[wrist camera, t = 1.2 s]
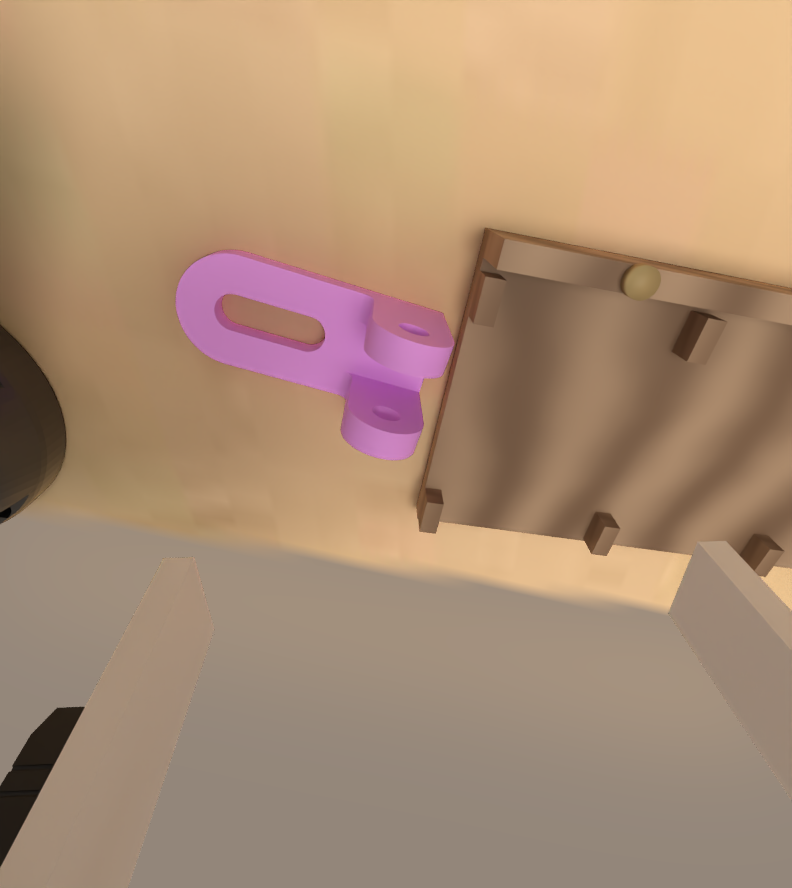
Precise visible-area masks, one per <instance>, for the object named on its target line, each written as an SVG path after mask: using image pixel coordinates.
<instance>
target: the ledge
mask: <svg viewBox="0 0 792 888" xmlns="http://www.w3.org/2000/svg"><path fill="white" fill-rule="evenodd" d="M417 519H418V520H419V532H427V533H435V534H436V531H437V527H438V524H439V521H440V522H447V523H455V524H462V525H470V526H477V527H485V528H492V529H500V530H507V531H515V532H522V533H530V534H537V535H545V536H552V537H560V538H567V539H575V540H582V541H585V543H586V544H587V546H588V548H589V550H590V552H591V554H595V555H603V556H607V554H608V552H609V550H610V548H611V547H612V545H620V546H627V547H635V548H642V549H650V550H657V551H665V552H672V553H680V554H687V555H692V554H693V552H694V549H695V547H696V545H697V542H706V541H726V542H727V543H728V544H729V545H730V546H731V547H732V548H733V549H734V550H735V551H736V552H737V553H738V554H739V555H740V557H741V558H742V559H743V560H744V561H745V562H746V563H747V564H748V565H749V566H750V567H751V568H752V569H753V570H754V571H755V573H756V574H757V575H758V576H764V577H766V575H767V574H768V573H769V571H770V570H771V569H772V567H773V566H777V567H785V568H792V288H787V287H782V286H777V285H772V284H767V283H762V282H757V281H752V280H747V279H742V278H737V277H732V276H727V275H722V274H717V273H712V272H707V271H701V270H696V269H691V268H686V267H681V266H676V265H671V264H666V263H661V262H656V261H651V260H646V259H641V258H636V257H631V256H626V255H621V254H615V253H610V252H605V251H600V250H595V249H590V248H585V247H580V246H575V245H570V244H565V243H560V242H555V241H550V240H545V239H540V238H535V237H529V236H524V235H519V234H514V233H509V232H504V231H499V230H494V229H489V228H485V232H484V236H483V240H482V244H481V248H480V252H479V256H478V260H477V265H476V269H475V273H474V277H473V281H472V285H471V289H470V293H469V297H468V301H467V305H466V309H465V313H464V317H463V321H462V325H461V329H460V333H459V337H458V341H457V345H456V349H455V353H454V357H453V362H452V366H451V370H450V374H449V378H448V382H447V386H446V390H445V394H444V398H443V402H442V406H441V410H440V414H439V418H438V422H437V426H436V430H435V434H434V438H433V442H432V446H431V450H430V455H429V459H428V463H427V467H426V471H425V475H424V479H423V483H422V487H421V491H420V495H419V499H418V503H417Z"/></svg>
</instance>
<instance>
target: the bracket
mask: <svg viewBox="0 0 792 888" xmlns="http://www.w3.org/2000/svg"><path fill="white" fill-rule="evenodd" d="M226 294H235V295H239V296H242V297H245V298H249V299H252V300H255V301H259V302H262V303H266V304H269V305H272V306H276V307H279V308H282V309H286V310H289V311H293V312H296V313H299V314H303V315H306V316H310V317H313V318H315V319H316V320H318V321H319V322H320V323H321V325H322V326H323V328H324V331H325V338H324V340H322V341H321V342H320V343H317V344H306V343H302V342H299V341H295V340H292V339H288V338H285V337H281V336H278V335H274V334H271V333H267V332H264V331H260V330H257V329H253V328H250V327H246V326H243V325H239V324H236V323H234V322H232V321H231V320H229V319H228V318H227V317H226V315H225V314H224V312H223V309H222V299H223V297H224V295H226ZM176 310H177V315H178V318H179V321H180V324H181V326H182V328H183V330H184V332H185V334H186V335H187V337H188V338H189V339H190V341H191V342H192V343H193V344H194V345H195V346H196V347H197V348H198V349H199V350H200V351H202V352H203V353H204V354H206V355H207V356H209V357H210V358H212V359H214V360H216V361H219V362H221V363H224V364H228V365H231V366H235V367H239V368H242V369H246V370H250V371H253V372H257V373H261V374H264V375H268V376H272V377H275V378H279V379H283V380H286V381H290V382H294V383H297V384H301V385H305V386H308V387H312V388H316V389H319V390H323V391H327V392H330V393H334V394H338V395H340V396H342V397H344V398H345V400H346V402H345V408H344V413H343V419H342V424H341V434H342V436H343V438H344V439H345V440H346V441H347V442H348V443H349V444H350V445H351V446H352V447H354V448H355V449H357V450H359V451H361V452H363V453H365V454H367V455H370V456H373V457H376V458H380V459H386V460H401V459H406V458H408V457H410V456H411V455H412V454H413V453H414V450H415V448H416V445H417V442H418V440H419V437H420V434H421V432H422V429H423V426H424V423H423V416H422V409H421V402H420V395H419V391H420V388H421V386H422V383H423V380H424V378H438V377H441V376H442V375H443V373H444V371H445V368H446V365H447V363H448V360H449V358H450V355H451V352H452V350H453V347H454V344H455V343H454V340H453V337H452V335H451V332H450V330H449V327H448V325H447V322H446V320H445V317H444V314H443V313H441V312H438V311H435V310H432V309H429V308H425V307H422V306H419V305H416V304H412V303H409V302H406V301H403V300H400V299H396V298H393V297H390V296H387V295H384V294H380V293H377V292H374V291H371V290H368V289H364V288H361V287H358V286H355V285H351V284H348V283H345V282H342V281H339V280H335V279H332V278H329V277H326V276H323V275H319V274H316V273H313V272H310V271H306V270H303V269H300V268H297V267H294V266H290V265H287V264H284V263H281V262H278V261H274V260H271V259H268V258H265V257H261V256H258V255H255V254H252V253H249V252H245V251H240V250H222V251H218V252H215V253H212V254H210V255H208V256H205V257H203V258H201V259H199V260H198V261H196V262H195V263H193V264H192V265H191V266H190V267H189V268H188V269H187V270H186V271H185V273H184V274H183V276H182V277H181V279H180V281H179V284H178V287H177V292H176Z"/></svg>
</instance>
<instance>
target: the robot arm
mask: <svg viewBox="0 0 792 888" xmlns="http://www.w3.org/2000/svg"><path fill="white" fill-rule="evenodd" d="M65 445H66V436H65V427H64V422H63V417H62V414H61V410H60V407H59V405H58V402H57V399H56V397H55V395H54V393H53V391H52V389H51V387H50V385H49V383H48V381H47V380H46V378H45V377H44V375H43V373H42V372H41V370H40V369H39V368H38V366H37V365H36V363H35V362H34V361H33V360H32V358H31V357H30V356H29V355H28V353H27V352H26V351H25V350H24V349H23V348H22V347H21V346H20V344H19V343H18V342H17V341H16V340H15V339H14V338H13V337H12V336H11V335H10V334H9V333H7V332H6V331H5V330H4V329H3V328H2V327H1V326H0V524H1V523H3V522H5V521H7V520H9V519H11V518H12V517H14V516H16V515H17V514H19V513H20V512H21V511H23V510H24V509H25V508H26V507H27V506H28V505H29V504H31V503H32V502H33V501H34V500H35V499H36V498H37V497H38V496H39V495H40V494H41V493H42V492H43V491H45V490H46V489H47V488H48V487H49V486H50V484H51V483H52V482H53V481H54V479H55V478H56V476H57V474H58V472H59V470H60V468H61V465H62V463H63V459H64V454H65ZM668 614H669V615H670V617H671V618H672V620H673V622H674V623H675V624H676V626H677V627H678V629H679V631H680V632H681V634H682V635H683V637H684V638H685V640H686V641H687V643H688V644H689V646H690V647H691V649H692V650H693V652H694V653H695V655H696V656H697V658H698V660H699V661H700V663H701V664H702V665H703V667H704V668H705V670H706V672H707V673H708V675H709V676H710V678H711V679H712V681H713V682H714V684H715V685H716V687H717V688H718V690H719V691H720V693H721V694H722V696H723V698H724V699H725V700H726V702H727V704H728V705H729V707H730V708H731V710H732V711H733V713H734V714H735V716H736V717H737V719H738V720H739V722H740V723H741V725H742V726H743V728H744V729H745V731H746V732H747V734H748V735H749V737H750V738H751V740H752V742H753V743H754V745H755V746H756V748H757V749H758V751H759V752H760V754H761V755H762V757H763V758H764V760H765V761H766V763H767V764H768V766H769V767H770V769H771V770H772V772H773V773H774V775H775V776H776V778H777V779H778V781H779V783H780V784H781V785H782V787H783V788H784V790H785V792H786V793H787V795H788V796H789V798H790V799H791V801H792V611H791V610H790V609H789V608H788V607H787V606H786V605H785V603H784V602H783V601H782V600H781V599H780V598H779V597H778V596H777V595H776V594H775V593H774V592H773V591H772V590H771V589H770V587H769V586H768V585H767V584H766V583H765V582H764V581H763V580H762V579H761V578H760V577H759V576H758V575H757V574H756V573H755V571H754V570H753V569H752V568H751V567H750V566H749V565H748V564H747V563H746V562H745V561H744V560H743V559H742V558H741V557H740V555H739V554H738V553H737V552H736V551H735V550H734V549H733V548H732V547H731V546H730V545H729V544H728V543H727V542H726V541H706V542H697V545H696V547H695V549H694V552H693V554H692V557H691V559H690V562H689V564H688V566H687V569H686V571H685V574H684V576H683V579H682V581H681V583H680V586H679V588H678V591H677V593H676V596H675V598H674V600H673V603H672V605H671V608H670V610H669V613H668ZM214 630H215V629H214V626H213V623H212V619H211V615H210V612H209V608H208V605H207V601H206V597H205V594H204V590H203V587H202V583H201V580H200V576H199V573H198V569H197V566H196V562H195V558H194V557H186V558H185V557H182V558H163V560H162V562H161V564H160V566H159V568H158V569H157V571H156V573H155V575H154V577H153V579H152V581H151V583H150V585H149V587H148V589H147V590H146V592H145V594H144V596H143V598H142V600H141V602H140V604H139V606H138V607H137V609H136V611H135V613H134V615H133V617H132V619H131V621H130V623H129V625H128V627H127V628H126V630H125V632H124V634H123V636H122V638H121V640H120V642H119V644H118V645H117V648H116V649H115V651H114V653H113V655H112V657H111V659H110V661H109V663H108V664H107V666H106V668H105V670H104V672H103V674H102V676H101V678H100V679H99V682H98V683H97V685H96V687H95V689H94V691H93V693H92V695H91V697H90V698H89V700H88V702H87V704H86V706H85V707H67V708H57V709H56V710H55V711H54V712H53V713H52V714H51V715H50V716H49V717H48V718H47V719H46V720H45V721H44V722H43V723H42V724H41V725H40V726H39V727H38V728H37V729H36V730H35V731H34V732H33V733H32V734H31V735H30V737H29V739H28V740H27V742H26V744H25V746H24V747H23V749H22V750H21V752H20V754H19V755H18V757H17V759H16V761H15V762H14V764H13V769H12V771H11V772H9V773H8V774H7V776H6V777H5V779H4V781H3V782H2V784H1V786H0V888H128V886H129V883H130V880H131V877H132V874H133V871H134V868H135V865H136V862H137V859H138V856H139V853H140V850H141V847H142V844H143V841H144V838H145V835H146V832H147V829H148V826H149V823H150V820H151V818H152V815H153V811H154V809H155V806H156V803H157V800H158V797H159V794H160V791H161V788H162V785H163V782H164V779H165V776H166V773H167V770H168V767H169V764H170V761H171V758H172V755H173V752H174V749H175V746H176V743H177V740H178V737H179V734H180V731H181V728H182V725H183V722H184V719H185V717H186V714H187V710H188V708H189V705H190V702H191V699H192V696H193V693H194V690H195V686H196V684H197V681H198V678H199V675H200V672H201V669H202V666H203V663H204V660H205V657H206V654H207V651H208V648H209V645H210V642H211V639H212V636H213V633H214Z"/></svg>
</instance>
